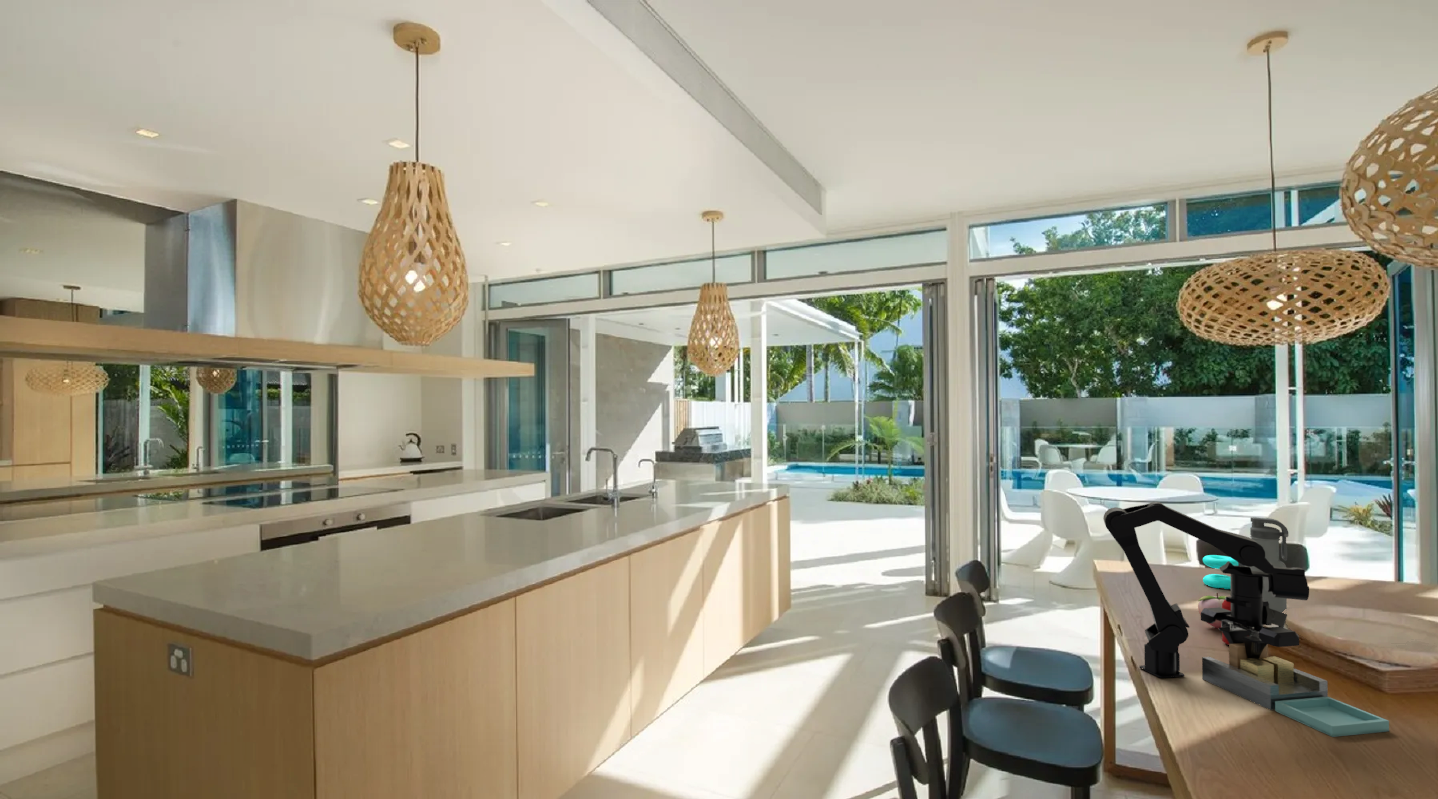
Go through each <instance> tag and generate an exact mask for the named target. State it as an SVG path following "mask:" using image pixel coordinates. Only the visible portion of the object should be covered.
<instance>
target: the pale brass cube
mask: <svg viewBox="0 0 1438 799" xmlns="http://www.w3.org/2000/svg"><path fill="white" fill-rule="evenodd" d="M1240 669H1241V670H1243V671H1246V672H1248V673H1251V674H1253V675H1256V676H1258V677H1261V678H1263V679H1265V680H1268V681H1270V682H1273V683H1274V665H1273V664H1270V663H1268V662H1265V661H1263V660H1260V659H1257V658H1248V659H1240Z"/></svg>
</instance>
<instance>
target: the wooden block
mask: <svg viewBox="0 0 1438 799" xmlns="http://www.w3.org/2000/svg"><path fill="white" fill-rule="evenodd" d="M1262 657H1269V644H1267V645H1266V646H1265V648H1264V649H1263V651H1262V653H1261V655H1260V657H1259V659H1260V658H1262ZM1228 658H1229V660H1228V664H1229V665H1231V666H1234V667H1236V668H1239V669H1240V659H1247V654H1246V650H1245V645H1244V643H1236V644H1229V646H1228Z"/></svg>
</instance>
